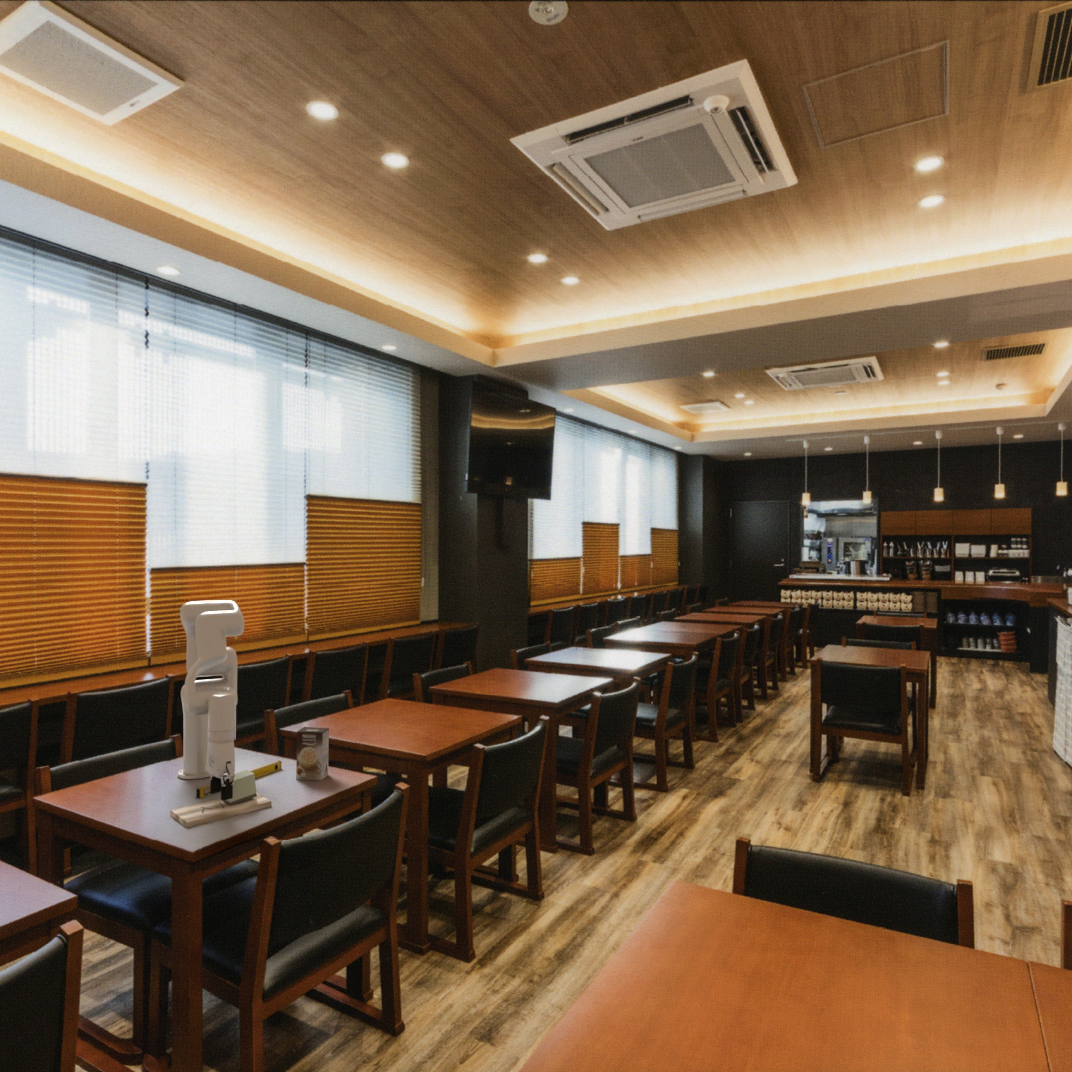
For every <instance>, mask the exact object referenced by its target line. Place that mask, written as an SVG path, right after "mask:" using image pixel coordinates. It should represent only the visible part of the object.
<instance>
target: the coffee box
mask: <svg viewBox="0 0 1072 1072" xmlns="http://www.w3.org/2000/svg"><path fill="white" fill-rule="evenodd" d="M329 737H330V728H329V727H316V726H303V727H302V728H300V729H299V730H297V731H296V765H295V766H296V769H295V770H296V771H295V772H296V775H295V779H296V780H302V781H304V780H305V781H323V780H324V779H325V778H326V777H327V776H329V747H330V745H329V743H330V742H329V739H330V738H329Z"/></svg>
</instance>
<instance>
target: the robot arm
mask: <svg viewBox="0 0 1072 1072" xmlns="http://www.w3.org/2000/svg"><path fill="white" fill-rule="evenodd" d="M179 610H180V611H179V615H180V622H181V625H182V627H183V629H184V632H185V636H186V652H185V653H186V657H185V658H186V659H185V660H186V661H185V662H186V663H185V664H186V666H185V667H186V672H187V674H186V676H185V680H184V684H183V685H182V687H181V690H180V698H181V699H180V700H181V705H182V714H183V715H182V716H183V721H182V723H183V732H182V733H183V735H182V736H183V737H182V738H183V741H182V743H183V744H182V745H183V748H182V749H183V752H182V756H183V757H182V769H180V770H179V771H178V772H177V777H178V778H180V779H183V780H198V779H205V778H209V780H210V782H209V785H210V793H211V794H210V795H214V794H218V793H220V798H221V800H222V801H224V800H228V799H232V798H233V781H234V777H235V774H236V773H235V772H236V771H235V770H236V753H235V742H234V741H235V740H237V739H236V738H237V737H236V735H237V734H236V733H237V728H236V727H237V705H238V701H239V699H238V698H239V697H238V655H237V652H236V650H235V649H234V648H233V647H230V646H228V645H227V639H226V638H227V637H229V638H230V637H239V636H241V635H243V634H244V631H245V618H244V615H243V612H242V610H241V609H240V606H239V605H238V603H237V602H236V601H234V600H225V599H223V600H220V599H219V600H196V601H188V602H185V603H183V604H182V605H181V607H180V609H179ZM213 676H214V677H215V676H221V678H219V677H218V678H209V679H197V678H199V677H200V678H201V677H202V678H203V677H213ZM226 777H228V778H227V779H226V781H225V778H226ZM221 781H222V786H221Z"/></svg>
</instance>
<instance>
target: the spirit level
mask: <svg viewBox="0 0 1072 1072" xmlns="http://www.w3.org/2000/svg"><path fill="white" fill-rule="evenodd" d="M280 770H282V761H281V760H278V761H275V762H272V763H270V764H267V765H263V766H260V767H257V768H255V769H252V770H249V771H250V772H252V773H254V774H255V779H257V778H259V777H260V778H261V777H262V776H265V775H267V774H268V775H269V774H271V773H273V772H277V771H280ZM209 795H212V794H211V793H210V784H208V785H206V786H202V787H199V788H196V799H197V798H198V799H202V798H203V797H206V796H209Z"/></svg>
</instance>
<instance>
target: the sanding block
mask: <svg viewBox="0 0 1072 1072" xmlns="http://www.w3.org/2000/svg"><path fill="white" fill-rule="evenodd" d="M250 771H251V770H248V769H246V770H243V771H239V772H237V773H235V777H234V781H233V798H232V799H228V800H224V801H223V802H225V803H226V804H228V805H230V806H231V805H234V804H237V803H240V802H242V801H245V800H248V799H251V798H253V797H256V796H257V793H258V792H257V785H256V778H255V774H254V773H252V772H250ZM227 778H228V777H226V778H225V781H226V779H227ZM221 786H222V781H221Z"/></svg>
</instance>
